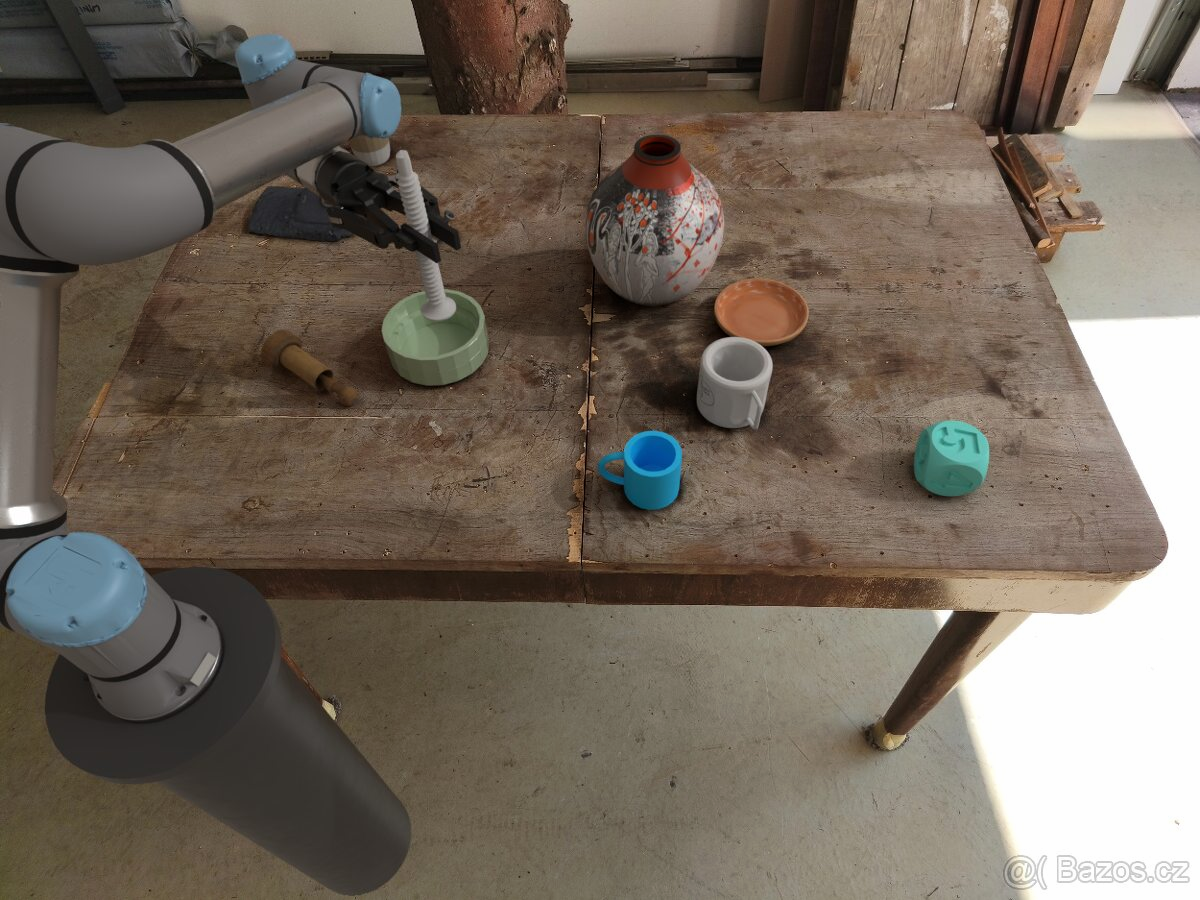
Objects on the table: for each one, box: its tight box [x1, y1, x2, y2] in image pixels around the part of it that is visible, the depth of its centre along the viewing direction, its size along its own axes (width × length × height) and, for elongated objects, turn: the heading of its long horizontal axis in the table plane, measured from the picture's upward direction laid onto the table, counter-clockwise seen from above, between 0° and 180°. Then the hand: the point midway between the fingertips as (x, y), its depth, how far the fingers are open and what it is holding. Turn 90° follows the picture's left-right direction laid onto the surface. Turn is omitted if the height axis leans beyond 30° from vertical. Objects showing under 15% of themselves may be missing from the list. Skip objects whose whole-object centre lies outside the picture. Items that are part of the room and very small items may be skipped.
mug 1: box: [597, 430, 683, 511], centre depth 116 cm, size 12×8×8 cm
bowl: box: [381, 288, 490, 386], centre depth 135 cm, size 17×17×7 cm
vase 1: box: [432, 209, 456, 244], centre depth 154 cm, size 5×5×6 cm
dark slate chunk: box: [247, 185, 363, 242], centre depth 160 cm, size 15×22×5 cm
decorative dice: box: [913, 419, 990, 497], centre depth 116 cm, size 8×8×8 cm
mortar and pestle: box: [260, 329, 360, 407], centre depth 132 cm, size 7×6×18 cm
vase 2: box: [584, 133, 725, 307], centre depth 135 cm, size 23×23×28 cm
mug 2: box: [696, 336, 774, 430], centre depth 124 cm, size 14×11×10 cm
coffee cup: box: [347, 135, 391, 167], centre depth 168 cm, size 11×11×15 cm
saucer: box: [713, 277, 810, 347], centre depth 139 cm, size 16×16×3 cm
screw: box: [395, 149, 456, 321], centre depth 107 cm, size 5×26×5 cm
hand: (447, 247), depth 104 cm, fingers closed on screw, 3 cm apart
